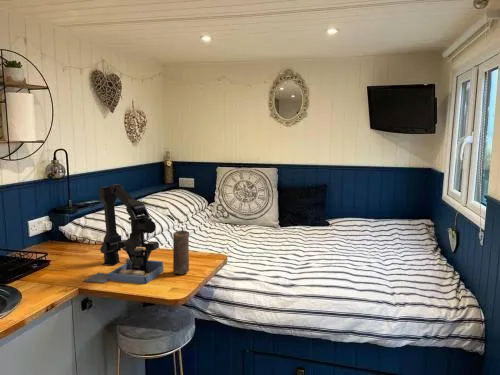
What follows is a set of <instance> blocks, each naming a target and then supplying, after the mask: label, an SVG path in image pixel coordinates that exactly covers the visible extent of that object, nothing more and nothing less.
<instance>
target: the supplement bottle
mask: <svg viewBox="0 0 500 375" xmlns="http://www.w3.org/2000/svg"><path fill="white" fill-rule="evenodd" d="M143 250H145V249H144V247H136V249H135V250H133V254H134V255H132V257H131V266H132V270H136V271H144V272H145V275H147V272H148V271H147V266H146V263H145V256H144V252H143Z"/></svg>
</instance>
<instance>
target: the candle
mask: <svg viewBox="0 0 500 375" xmlns="http://www.w3.org/2000/svg"><path fill="white" fill-rule="evenodd" d="M189 235H190V234H189V231H188V230H177V231H175V232H173V238H172V241H173V242H172V244H173V246H172V247H173V249H172V250H173V251H172V252H173V254H172V255H173V258H172V259H173V260H172V261H173V262H172V265H173V266H172V267H173V268H172V270H173V271H172V273H173V274H177V275H184V274H186V273H188V272H190V268H189V267H190V252H189V250H190V248H189V246H190V244H189V243H190V242H189V240H190V239H189Z"/></svg>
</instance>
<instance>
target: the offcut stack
mask: <svg viewBox="0 0 500 375" xmlns="http://www.w3.org/2000/svg"><path fill="white" fill-rule="evenodd" d="M119 274H127V275H137V276H146V274H145V272H144V271H136V270H131V269H128V270H124V269H123V270H121V271H119Z"/></svg>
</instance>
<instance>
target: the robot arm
mask: <svg viewBox="0 0 500 375" xmlns="http://www.w3.org/2000/svg"><path fill="white" fill-rule="evenodd" d="M97 195H98V197H99V200H100V202H101V203H102V205H103V211H104V221H105V222H104V223H105V231H106V232H105V234H104V237H103V244H102V245H101V247H100V248H99V250H100V253H101V254H103V259H104V260H103V263H102V265H103V266H104V265H106V266H115V265H117V264H119V263H120V262H121V260H120V255H119V252H120V251H121V250H122V251H125V252H126V254H127V255H128V259H130V260H131V257H132V255H134V254H133V250H135V249H136V248H145V249H144V250H143V252H144V256H145V263H147V261H148V260H149V258H150V255H151V253H152V251H156V250H157V249H158V248H159V249H160V243H159V242H158V241H156V240H155V241H152V240H150V241H148V242H147V240H146V239H145V234H153V233H154V232H155V230H156V229H157V225H156V223H155V221H153V219H152V217H151V215H150V213H149V211H148V209H147V207H146V205H145V204H144V203H143V202H142V201H140V200H138V199H135V198H134V197H133V196H132V195H130V193H129V192H128V191H127V190H125V188H124V187H123V185H122V184H119V183H117V184H112V185H110V186H102V187H100V188H99V190H98V194H97ZM117 199H118V200H120V202H121V203H122V204H123V205H124V206H125V207H126V208H125V211H126V212H127V213H128V215H129V217H128V219H127V220H129V221H130V228H131V230H130V232H131V233H130V232H129V238H127V239H122V235H121V234H119V233H118V232H117V231H118V230H117V222H116V221H117V220H116V211H115V210H116V208H115V203H116V201H117Z"/></svg>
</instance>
